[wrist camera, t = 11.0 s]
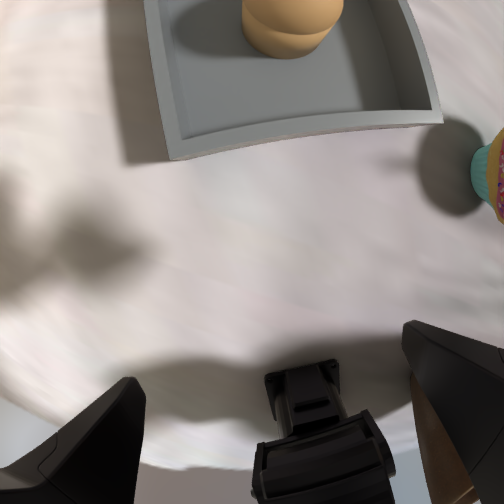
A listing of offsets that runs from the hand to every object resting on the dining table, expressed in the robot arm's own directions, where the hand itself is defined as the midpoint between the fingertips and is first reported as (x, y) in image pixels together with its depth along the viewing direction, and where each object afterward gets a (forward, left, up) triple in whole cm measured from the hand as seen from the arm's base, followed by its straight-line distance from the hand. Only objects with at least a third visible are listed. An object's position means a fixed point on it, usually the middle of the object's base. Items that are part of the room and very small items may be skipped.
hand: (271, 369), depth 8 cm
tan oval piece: (+15, -5, -11) cm, 19 cm away
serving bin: (+15, -5, -12) cm, 20 cm away
